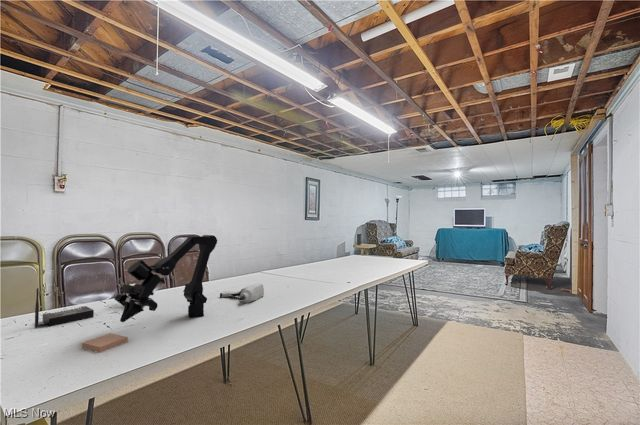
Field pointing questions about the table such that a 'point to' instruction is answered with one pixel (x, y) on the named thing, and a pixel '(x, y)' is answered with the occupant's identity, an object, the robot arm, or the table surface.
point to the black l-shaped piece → (62, 315)
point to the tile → (104, 342)
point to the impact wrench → (247, 293)
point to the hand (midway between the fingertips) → (121, 321)
